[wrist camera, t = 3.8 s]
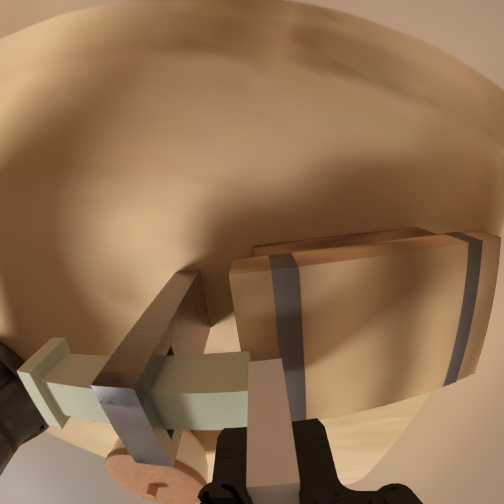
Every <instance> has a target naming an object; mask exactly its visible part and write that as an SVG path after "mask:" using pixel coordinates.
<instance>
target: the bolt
mask: <svg viewBox="0 0 504 504" xmlns="http://www.w3.org/2000/svg"><path fill="white" fill-rule="evenodd" d="M110 357H111V355H86V354H72V353H71V351H70V348H69V346H68V343H67V341H66V338H59V337H52V338H51V339H50V340H49V341H47V342H46V343H45V344H44V345H43V346H42V347H41V348H40V349H39V350H38V351H37V352H36V353H35V354H33V355H32V356H31V357H30V358H29V359H28V360H27V361H26V362H25V363H24V364H23V365H22V366H21V367H20V368H19V369H18V370H17V373H18V375H19V377H20V379H21V380H22V382H23V384H24V386H25V388H26V390H27V391H28V393H29V395H30V397H31V398H32V400H33V402H34V403H35V405H36V407H37V408H38V410H39V412H40V413H41V415H42V416H43V418H44V419H45V421H46V422H47V424H48V425H50V426H53V427H57V428H60V429H62V428H63V427H64V425H65V424H66V422H67V421H68V419H69V418H70V416H71V417H76V418H81V419H86V420H91V421H97V422H103V423H110V421H109V419H108V418H107V416H106V414H105V412H104V410H103V409H102V407H101V405H100V403H99V401H98V399H97V397H96V395H95V393H94V391H93V389H92V387H91V384H92V382H93V381H94V380H95V378H96V377H97V375H98V374H99V373H100V371H101V370H102V368H103V367H104V366H105V364H106V363H107V361H108V360H109V359H110ZM248 362H251V358H250V351H240V352H228V353H214V354H196V355H170V356H166V357H165V359H164V361H163V363H162V365H161V368H160V370H159V372H158V374H157V376H156V379H155V381H154V383H153V385H152V387H151V390H150V395H151V397H152V399H153V402H154V404H155V406H156V409H157V411H158V413H159V415H160V418H161V420H162V422H163V424H164V426H165V428H166V429H174V430H223V429H224V428H237V427H247V413H248ZM110 424H111V423H110Z"/></svg>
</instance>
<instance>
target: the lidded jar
mask: <svg viewBox="0 0 504 504" xmlns="http://www.w3.org/2000/svg"><path fill="white" fill-rule="evenodd" d="M105 467H106V470H107V472H108V474H109V475H110V476H111V477H112V478H113V479H114V480H115V481H116V482H117V483H118V484H119V485H121V486H122V487H124V488H125V489H127V490H129V491H130V492H132V493H134V494H136V495H138V496H141V497H143V498H146V499H148V500H152V501H155V502H159V503H164V504H195V503H198V502H200V500H199V499H198V497H197V496H198V494H199V491H200V490H201V489H202V488H203V487H204V486H205V485H206V484H207V480H208V463H207V457H206V454H205V451H204V449H203V447H202V445H201V444H200V442H199V441H198V440H197V438H196V437H195V436H194V435H193V434H192V432H191V431H190V430H183V432H182V436H181V440H180V444H179V448H178V452H177V456H176V460H175V464H174V467H167V466H157V465H149V464H141V463H136V462H135V461H134V459H133V458H132V456H131V455H130V453H129V452H128V450H127V449H126V447H125V446H124V444H123V443H122V441H121V439H120V438H118V439H117V441H116V442H115V444H114V446H113V448H112V450H111V452H110V453H109V454H108V456H107V458H106V461H105Z"/></svg>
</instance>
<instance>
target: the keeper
mask: <svg viewBox="0 0 504 504" xmlns="http://www.w3.org/2000/svg"><path fill="white" fill-rule="evenodd" d="M209 331H210V323H209V318H208V314H207V309H206V304H205V298H204V293H203V288H202V283H201V277H200V272H199V270H195V271H186V272H177V273H175V274H174V275H173V276H172V277H171V279H170V280H169V281H168V282H167V284H166V285H165V286H164V288H163V289H162V290H161V291H160V293H159V294H158V295H157V296H156V298H155V299H154V300H153V302H152V303H151V304H150V305H149V307H148V308H147V309H146V311H145V312H144V313H143V314H142V316H141V317H140V318H139V320H138V321H137V322H136V324H135V325H134V326H133V328H132V329H131V330H130V332H129V333H128V334H127V336H126V337H125V338H124V340H123V341H122V342H121V344H120V345H119V346H118V348H117V349H116V350H115V352H114V353H113V355H112V356H111V357H110V359H109V360H108V361H107V363H106V364H105V366H104V367H103V368H102V370H101V371H100V373H99V374H98V375H97V377H96V378H95V380H94V381H93V382H92V384H91V387H92V389H93V391H94V393H95V395H96V397H97V399H98V401H99V403H100V405H101V407H102V409H103V410H104V412H105V414H106V416H107V418H108V419H109V421H110V423H111V425H112V426H113V428H114V430H115V431H116V433H117V435H118V436H119V438H120V439H121V441H122V443H123V444H124V446H125V447H126V449H127V450H128V452H129V453H130V455H131V456H132V458H133V459H134V461H135V462H136V463H141V464H149V465H157V466H167V467H174V464H175V460H176V456H177V452H178V448H179V444H180V440H181V436H182V432H183V430H174V429H166V428H165V426H164V424H163V422H162V420H161V418H160V415H159V413H158V411H157V409H156V406H155V404H154V402H153V399H152V397H151V395H150V390H151V387H152V385H153V383H154V381H155V379H156V376H157V374H158V372H159V370H160V368H161V365H162V363H163V361H164V359H165V357H166V356H170V355H196V354H203V353H204V349H205V346H206V342H207V338H208V335H209Z"/></svg>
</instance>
